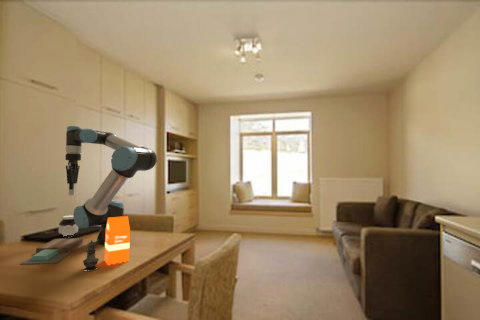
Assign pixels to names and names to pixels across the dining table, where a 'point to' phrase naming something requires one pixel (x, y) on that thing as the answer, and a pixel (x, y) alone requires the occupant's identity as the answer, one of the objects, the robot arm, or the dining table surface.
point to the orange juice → (117, 240)
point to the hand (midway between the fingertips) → (71, 195)
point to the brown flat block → (61, 245)
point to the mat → (53, 259)
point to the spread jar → (68, 226)
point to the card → (45, 254)
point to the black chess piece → (90, 257)
